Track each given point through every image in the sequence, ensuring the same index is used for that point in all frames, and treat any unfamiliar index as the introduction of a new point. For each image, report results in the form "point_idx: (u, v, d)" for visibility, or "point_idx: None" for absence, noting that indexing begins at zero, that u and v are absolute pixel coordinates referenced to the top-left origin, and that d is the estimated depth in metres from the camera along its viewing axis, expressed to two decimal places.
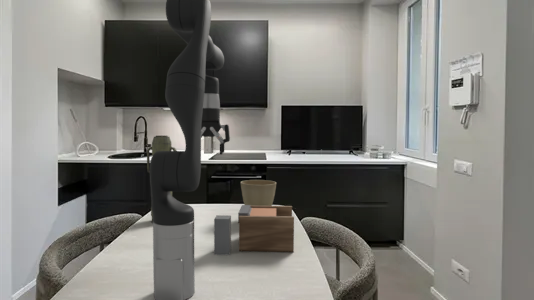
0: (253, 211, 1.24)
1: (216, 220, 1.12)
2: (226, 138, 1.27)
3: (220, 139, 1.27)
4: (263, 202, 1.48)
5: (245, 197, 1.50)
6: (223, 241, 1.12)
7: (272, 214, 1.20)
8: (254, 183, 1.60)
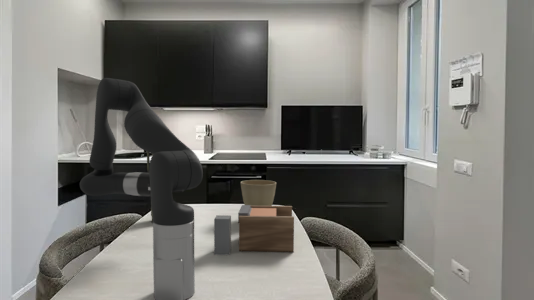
0: (253, 211, 1.24)
1: (216, 220, 1.12)
2: None
3: None
4: (263, 202, 1.48)
5: (245, 197, 1.50)
6: (223, 241, 1.12)
7: (272, 214, 1.20)
8: (254, 183, 1.60)
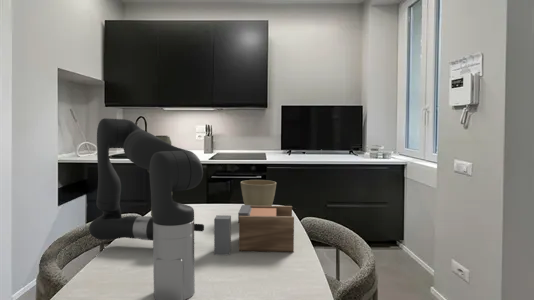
0: (253, 211, 1.24)
1: (216, 220, 1.12)
2: None
3: None
4: (263, 202, 1.48)
5: (245, 197, 1.50)
6: (223, 241, 1.12)
7: (272, 214, 1.20)
8: (254, 183, 1.60)
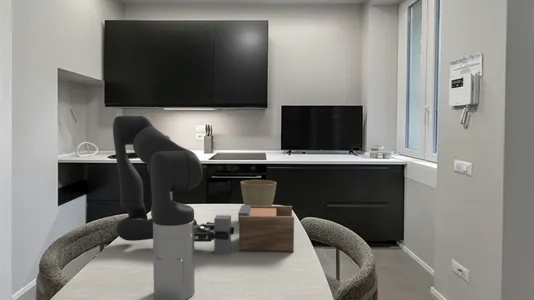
0: (253, 211, 1.24)
1: (216, 220, 1.12)
2: None
3: None
4: (263, 202, 1.48)
5: (245, 197, 1.50)
6: (223, 241, 1.12)
7: (272, 214, 1.20)
8: (254, 183, 1.60)
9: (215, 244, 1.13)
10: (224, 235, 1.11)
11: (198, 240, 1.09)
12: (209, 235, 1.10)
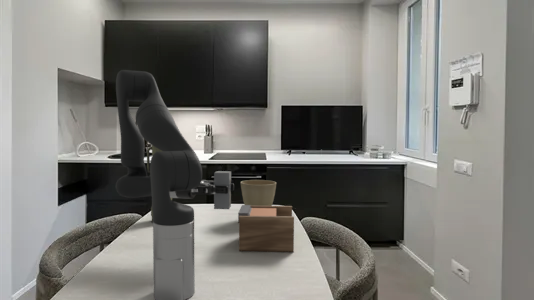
0: (253, 211, 1.24)
1: (216, 174, 1.11)
2: None
3: None
4: (263, 202, 1.48)
5: (245, 197, 1.50)
6: (223, 196, 1.11)
7: (272, 214, 1.20)
8: (254, 183, 1.60)
9: (215, 199, 1.11)
10: (224, 189, 1.09)
11: (198, 193, 1.08)
12: (209, 188, 1.08)
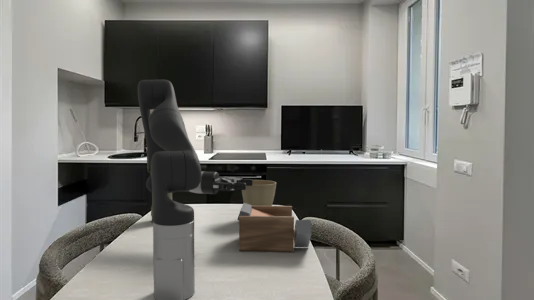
0: (253, 212, 1.24)
1: (306, 246, 1.19)
2: (238, 177, 1.31)
3: (238, 178, 1.29)
4: (263, 202, 1.48)
5: (245, 197, 1.50)
6: (301, 238, 1.14)
7: None
8: (254, 183, 1.60)
9: (309, 237, 1.13)
10: (242, 185, 1.19)
11: (218, 189, 1.19)
12: (228, 185, 1.18)
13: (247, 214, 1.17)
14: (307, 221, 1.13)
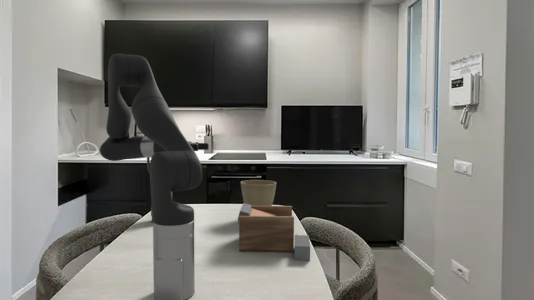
0: (253, 212, 1.24)
1: None
2: None
3: None
4: (263, 202, 1.48)
5: (245, 197, 1.50)
6: None
7: None
8: (254, 183, 1.60)
9: None
10: (194, 146, 1.16)
11: None
12: None
13: (247, 214, 1.17)
14: (306, 248, 1.08)
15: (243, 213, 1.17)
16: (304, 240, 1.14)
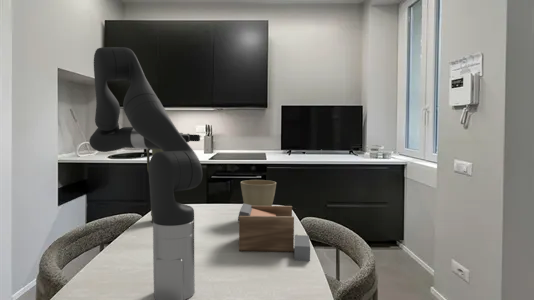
0: (253, 212, 1.24)
1: None
2: None
3: (184, 134, 1.25)
4: (263, 202, 1.48)
5: (245, 197, 1.50)
6: None
7: None
8: (254, 183, 1.60)
9: None
10: (185, 137, 1.15)
11: None
12: None
13: (247, 214, 1.17)
14: (306, 248, 1.08)
15: (243, 213, 1.17)
16: (304, 240, 1.14)
